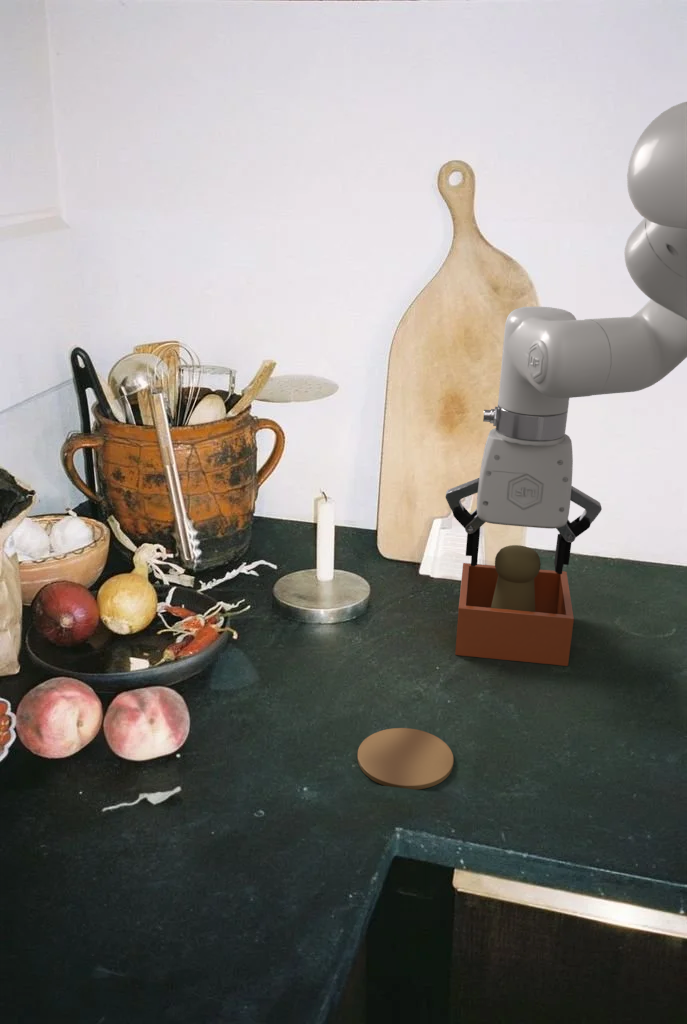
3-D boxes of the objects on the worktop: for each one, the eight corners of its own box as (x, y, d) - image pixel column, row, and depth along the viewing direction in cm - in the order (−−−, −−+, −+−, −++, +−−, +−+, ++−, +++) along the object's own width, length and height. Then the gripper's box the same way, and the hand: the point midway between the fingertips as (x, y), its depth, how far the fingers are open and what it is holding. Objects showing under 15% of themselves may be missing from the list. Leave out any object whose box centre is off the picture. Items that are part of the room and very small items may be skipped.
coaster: (455, 737, 92) (455, 733, 91) (450, 795, 83) (451, 791, 83) (364, 727, 93) (364, 723, 93) (350, 783, 84) (350, 779, 84)
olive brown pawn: (544, 631, 112) (553, 547, 108) (523, 652, 108) (532, 564, 104) (498, 617, 115) (506, 535, 111) (476, 636, 111) (483, 551, 107)
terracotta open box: (561, 615, 116) (566, 571, 114) (568, 666, 105) (574, 618, 103) (459, 606, 118) (463, 562, 116) (455, 655, 107) (458, 608, 104)
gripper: (449, 427, 100) (439, 572, 106) (615, 439, 98) (594, 586, 104) (453, 408, 107) (443, 545, 113) (608, 419, 105) (589, 559, 111)
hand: (515, 565), depth 109 cm, fingers open, 9 cm apart
